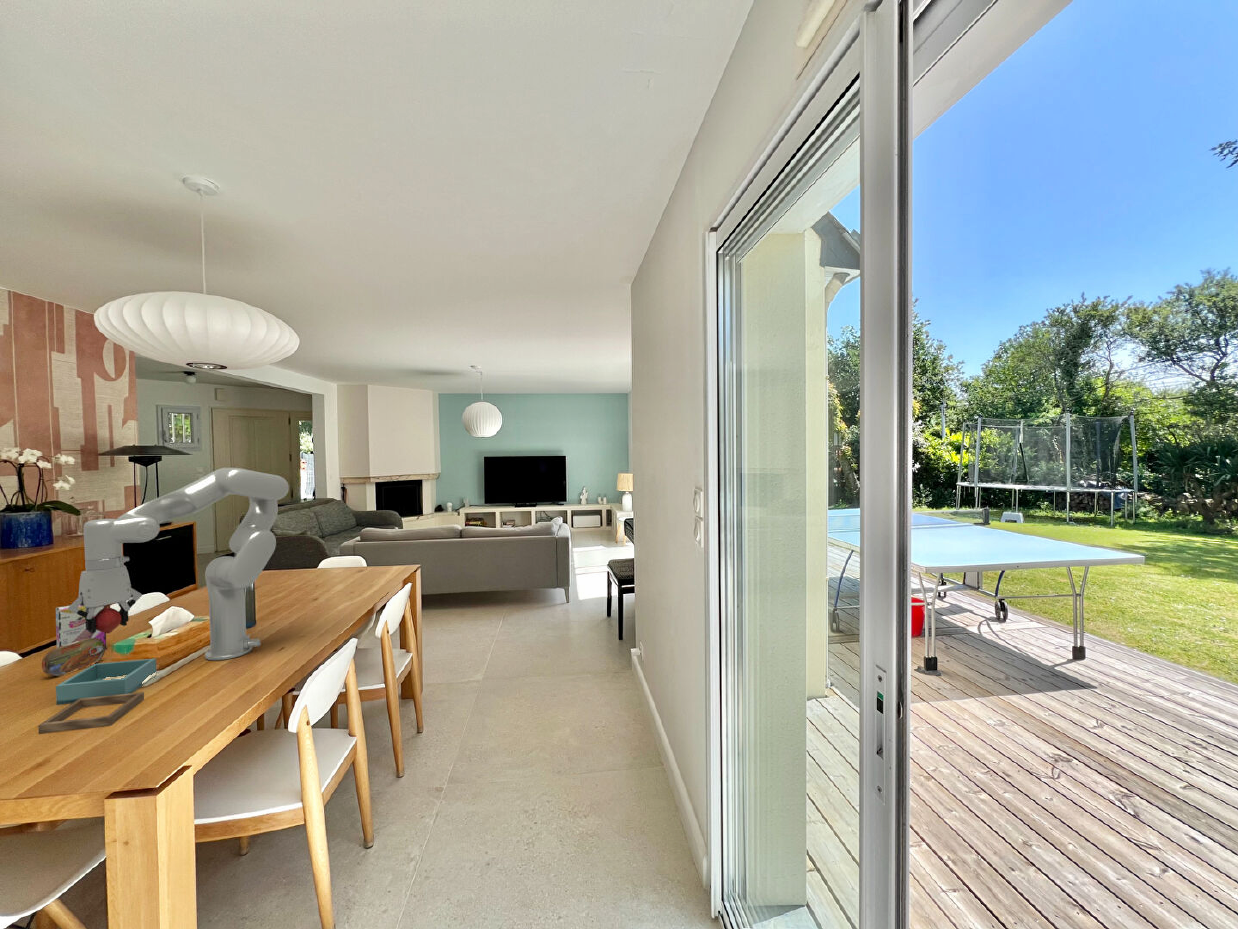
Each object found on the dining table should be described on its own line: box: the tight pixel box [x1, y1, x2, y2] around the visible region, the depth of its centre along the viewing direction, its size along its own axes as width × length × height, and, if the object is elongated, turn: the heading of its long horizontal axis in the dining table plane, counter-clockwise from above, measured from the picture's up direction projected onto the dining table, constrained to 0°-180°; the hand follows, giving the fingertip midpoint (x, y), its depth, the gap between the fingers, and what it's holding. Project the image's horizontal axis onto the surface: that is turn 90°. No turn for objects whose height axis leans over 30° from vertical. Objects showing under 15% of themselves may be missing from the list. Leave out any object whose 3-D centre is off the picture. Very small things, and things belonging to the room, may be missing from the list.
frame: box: [37, 691, 145, 734], centre depth 137 cm, size 14×14×2 cm
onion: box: [94, 605, 122, 634], centre depth 151 cm, size 6×6×8 cm
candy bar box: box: [55, 605, 107, 651], centre depth 177 cm, size 11×5×16 cm, turn 145°
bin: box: [55, 657, 158, 706], centre depth 152 cm, size 15×15×5 cm
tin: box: [41, 638, 106, 677], centre depth 165 cm, size 15×3×8 cm, turn 168°
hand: (107, 627), depth 151 cm, fingers closed on onion, 5 cm apart
